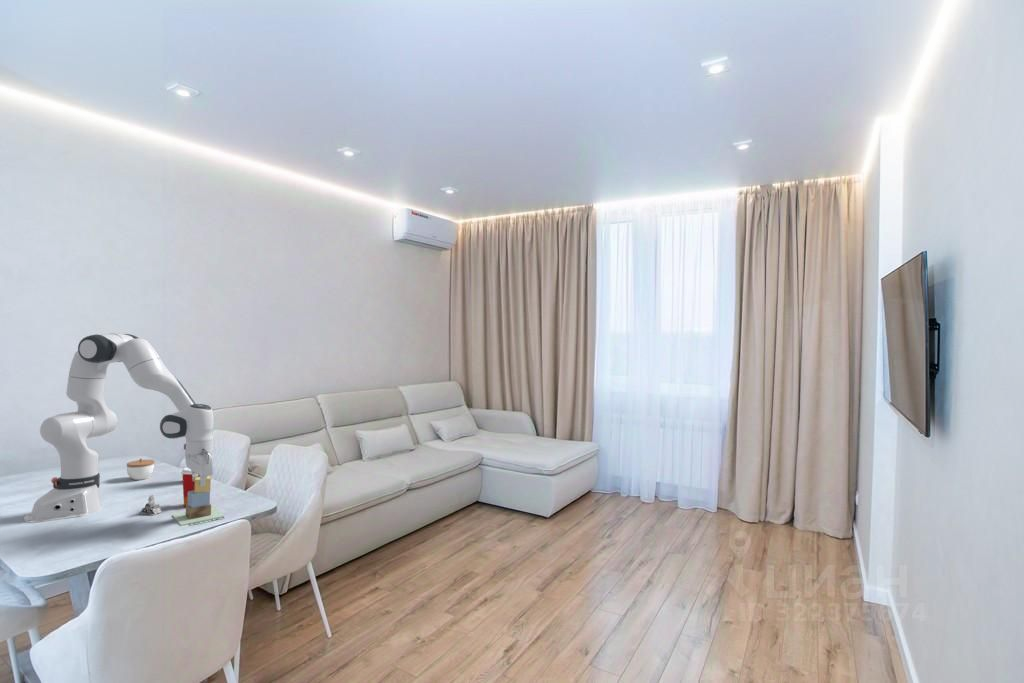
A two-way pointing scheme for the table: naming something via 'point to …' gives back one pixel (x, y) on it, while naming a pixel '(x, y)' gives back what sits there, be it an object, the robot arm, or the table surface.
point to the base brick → (198, 511)
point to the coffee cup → (187, 483)
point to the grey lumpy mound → (151, 507)
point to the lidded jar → (140, 469)
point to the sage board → (184, 520)
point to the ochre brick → (202, 488)
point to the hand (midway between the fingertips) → (198, 483)
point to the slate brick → (198, 499)
